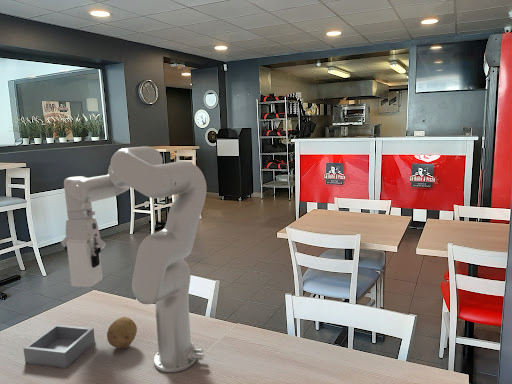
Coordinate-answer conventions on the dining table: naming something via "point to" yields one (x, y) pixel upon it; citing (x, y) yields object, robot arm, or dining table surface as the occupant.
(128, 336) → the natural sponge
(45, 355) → the box
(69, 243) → the milk carton
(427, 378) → the dining table surface
